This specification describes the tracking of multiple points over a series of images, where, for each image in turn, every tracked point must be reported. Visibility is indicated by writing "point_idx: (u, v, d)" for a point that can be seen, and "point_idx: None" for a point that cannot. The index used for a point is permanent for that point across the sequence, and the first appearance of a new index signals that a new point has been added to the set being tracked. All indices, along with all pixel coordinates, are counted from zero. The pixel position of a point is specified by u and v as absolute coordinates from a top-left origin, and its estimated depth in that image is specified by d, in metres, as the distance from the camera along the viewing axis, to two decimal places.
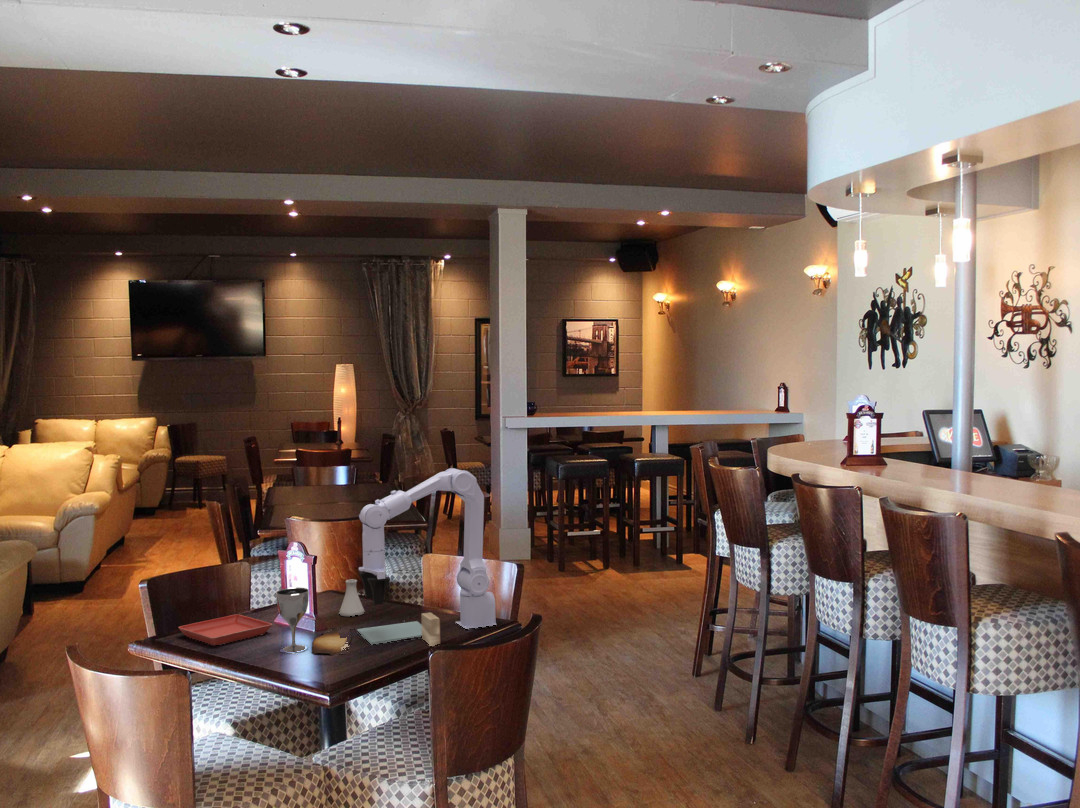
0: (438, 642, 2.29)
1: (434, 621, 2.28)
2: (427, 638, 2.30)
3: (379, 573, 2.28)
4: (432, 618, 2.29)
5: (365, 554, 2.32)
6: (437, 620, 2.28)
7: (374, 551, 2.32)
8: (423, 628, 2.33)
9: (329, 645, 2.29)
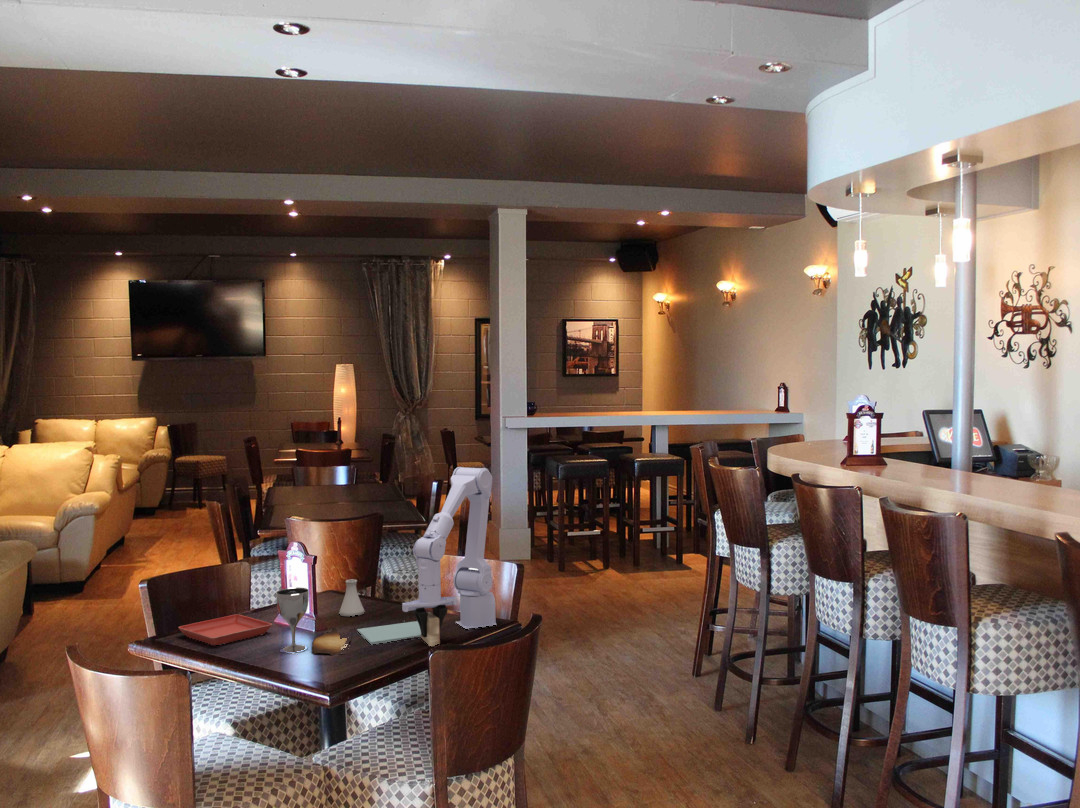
0: (438, 642, 2.29)
1: (433, 621, 2.28)
2: (426, 638, 2.30)
3: (402, 605, 2.28)
4: (431, 618, 2.29)
5: None
6: (436, 620, 2.28)
7: None
8: None
9: (329, 645, 2.29)
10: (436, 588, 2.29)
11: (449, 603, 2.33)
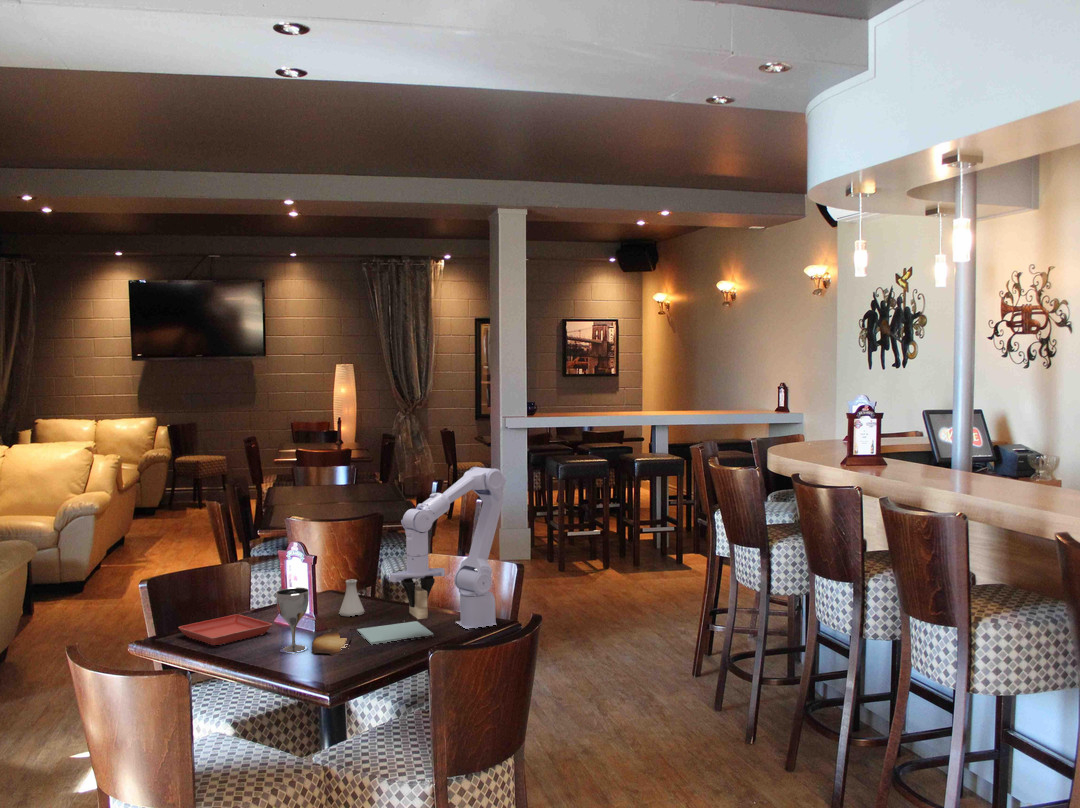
0: (426, 615, 2.32)
1: (422, 594, 2.31)
2: (415, 611, 2.33)
3: (390, 575, 2.32)
4: (420, 591, 2.32)
5: None
6: (425, 593, 2.31)
7: None
8: None
9: (329, 645, 2.29)
10: (423, 559, 2.32)
11: (437, 574, 2.37)
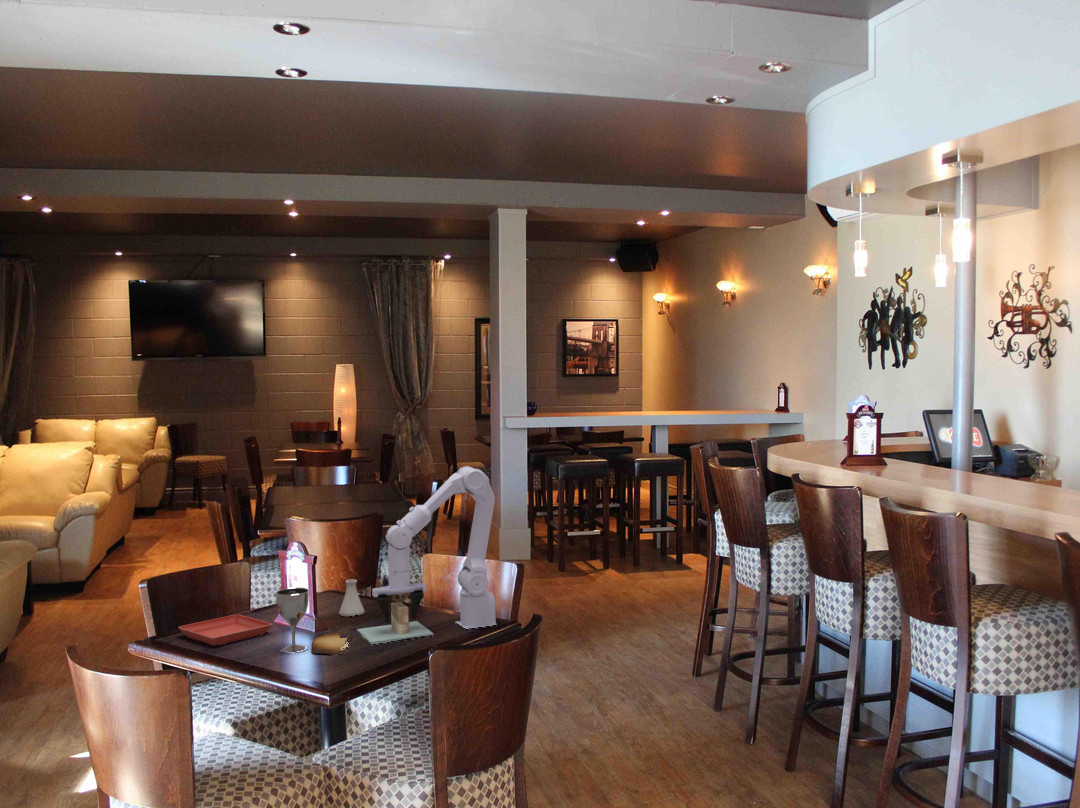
0: (407, 630, 2.37)
1: (403, 610, 2.37)
2: (396, 626, 2.38)
3: (372, 590, 2.37)
4: (401, 607, 2.37)
5: None
6: (406, 609, 2.37)
7: None
8: (393, 617, 2.41)
9: (329, 645, 2.29)
10: (405, 574, 2.38)
11: (418, 589, 2.42)
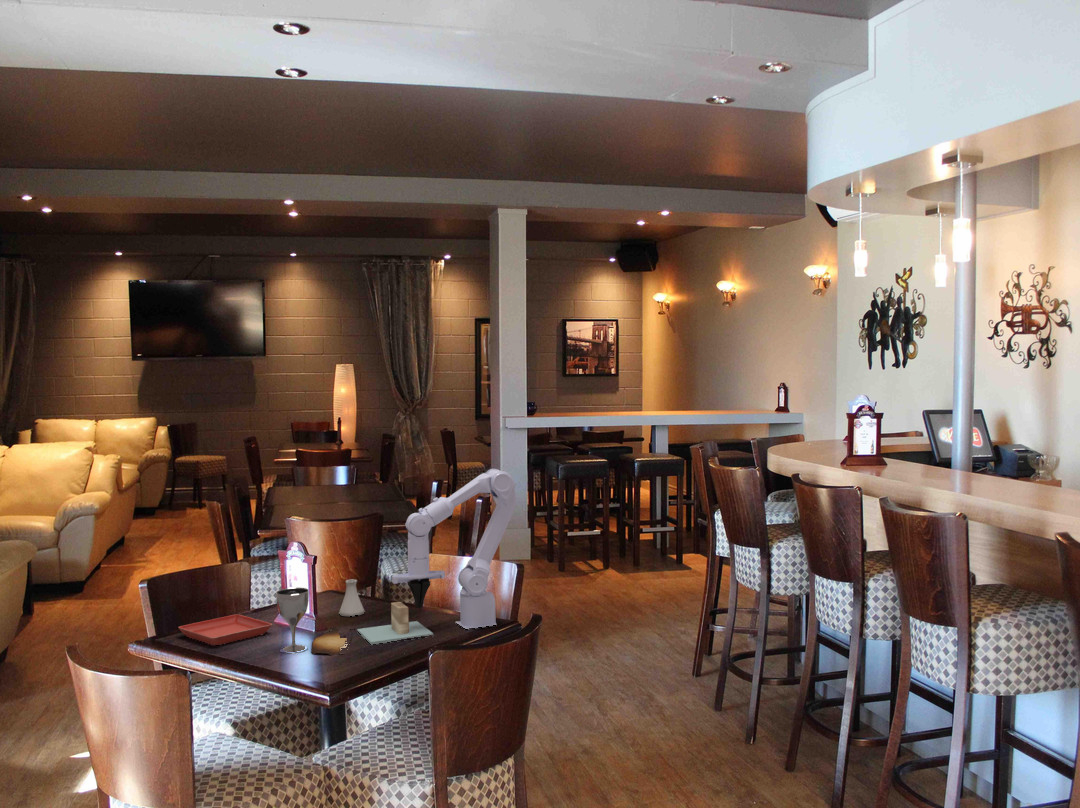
0: (407, 630, 2.37)
1: (403, 610, 2.37)
2: (396, 626, 2.38)
3: (392, 577, 2.40)
4: (401, 607, 2.37)
5: None
6: (406, 609, 2.37)
7: (408, 557, 2.41)
8: (393, 617, 2.41)
9: (329, 645, 2.29)
10: (424, 561, 2.40)
11: (437, 576, 2.44)
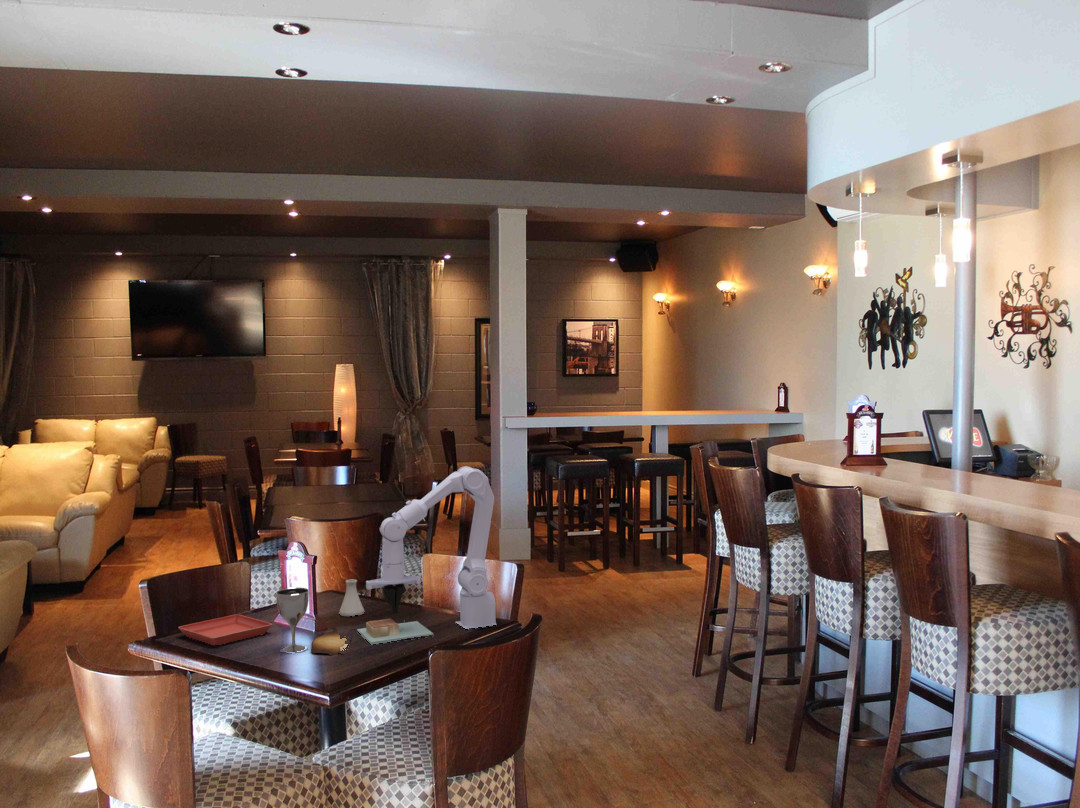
0: (396, 626, 2.36)
1: (375, 633, 2.33)
2: None
3: (366, 582, 2.37)
4: (372, 633, 2.34)
5: None
6: (374, 630, 2.33)
7: (382, 562, 2.38)
8: None
9: (328, 645, 2.29)
10: (399, 567, 2.37)
11: (412, 582, 2.41)
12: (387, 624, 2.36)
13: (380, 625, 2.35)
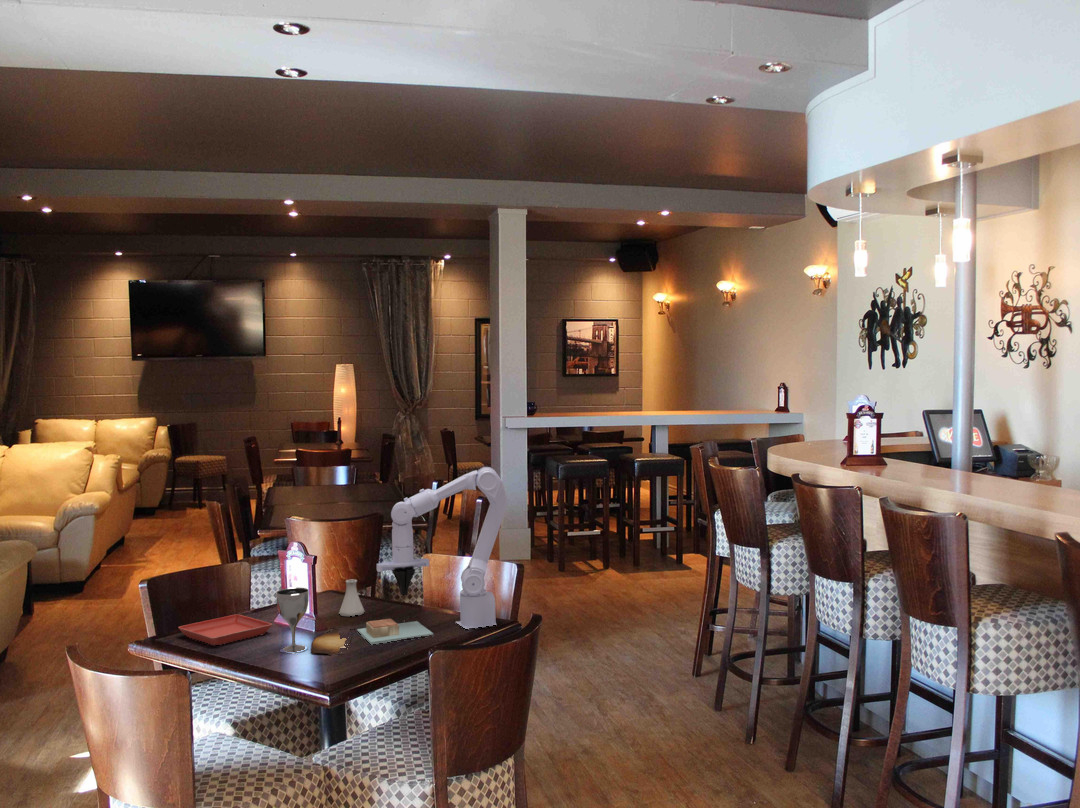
0: (396, 626, 2.36)
1: (375, 633, 2.33)
2: None
3: (377, 565, 2.42)
4: (372, 633, 2.34)
5: None
6: (374, 630, 2.33)
7: (392, 546, 2.44)
8: None
9: (328, 645, 2.29)
10: (408, 550, 2.43)
11: (422, 564, 2.47)
12: (387, 624, 2.36)
13: (380, 625, 2.35)
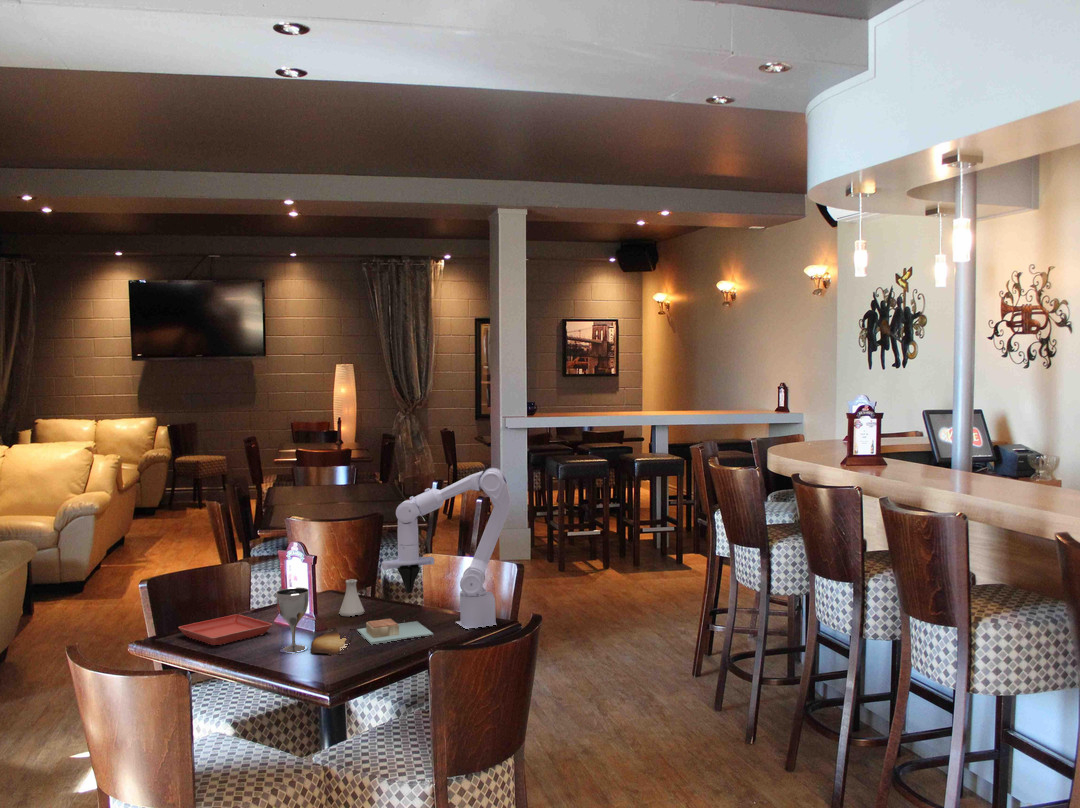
0: (396, 626, 2.36)
1: (375, 633, 2.33)
2: None
3: (382, 563, 2.45)
4: (372, 633, 2.34)
5: None
6: (374, 630, 2.33)
7: None
8: None
9: (328, 645, 2.29)
10: (414, 548, 2.45)
11: (427, 563, 2.49)
12: (387, 624, 2.36)
13: (380, 625, 2.35)
